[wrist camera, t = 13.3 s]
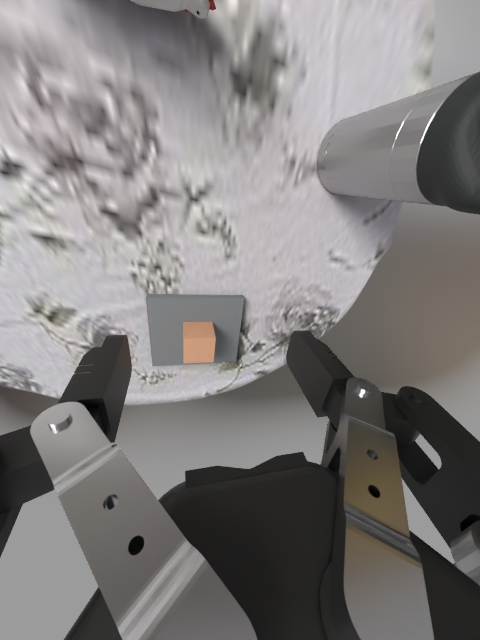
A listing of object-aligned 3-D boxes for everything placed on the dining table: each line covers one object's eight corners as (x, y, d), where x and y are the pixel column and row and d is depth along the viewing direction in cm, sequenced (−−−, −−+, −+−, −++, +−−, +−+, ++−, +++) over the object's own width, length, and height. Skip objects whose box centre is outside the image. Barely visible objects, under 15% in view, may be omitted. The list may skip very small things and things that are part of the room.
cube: (212, 321, 42) (215, 338, 38) (210, 344, 44) (213, 362, 40) (183, 322, 41) (183, 338, 36) (183, 345, 43) (183, 363, 39)
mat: (242, 295, 42) (244, 298, 41) (234, 356, 49) (236, 361, 48) (147, 294, 38) (146, 298, 37) (153, 360, 45) (152, 366, 44)
